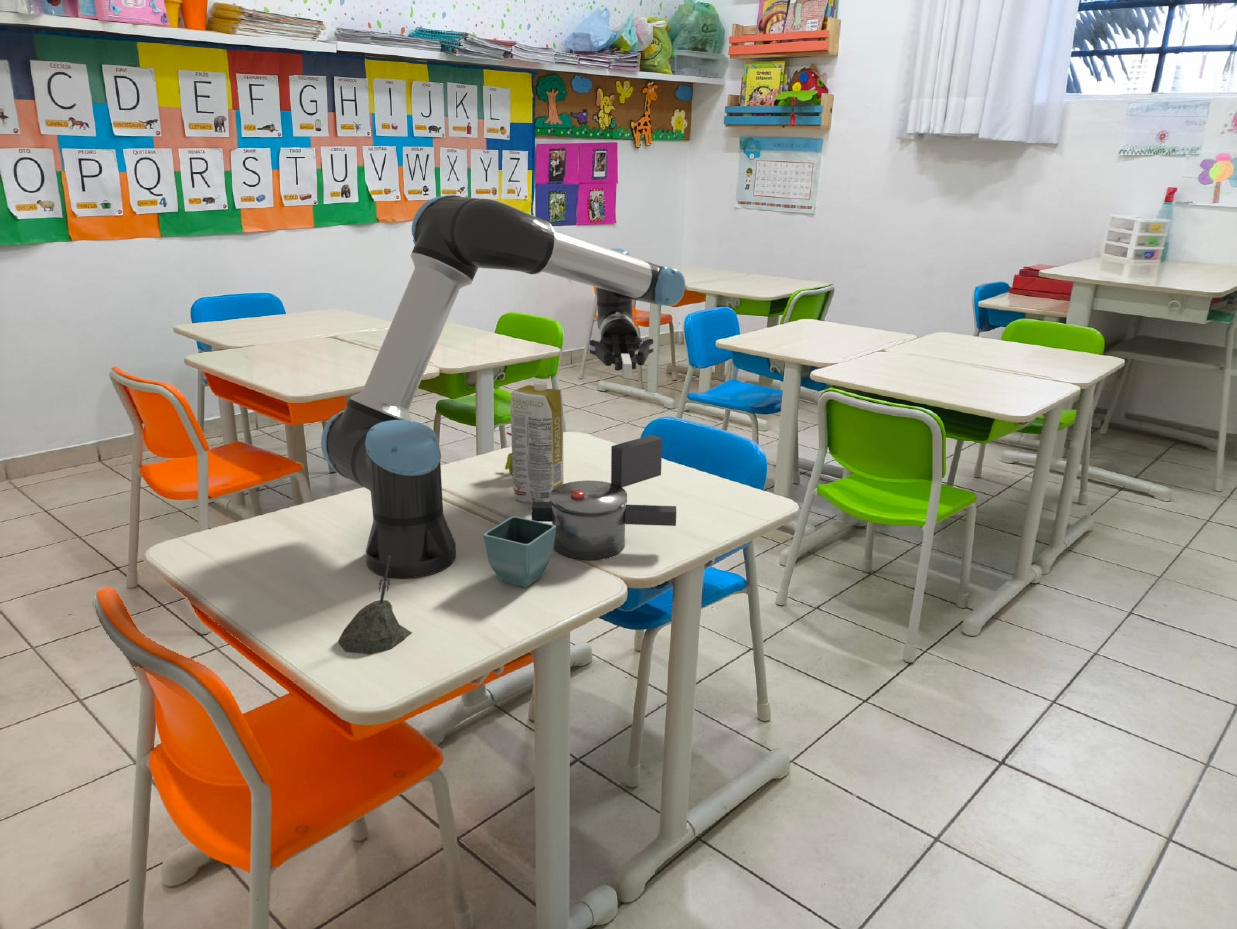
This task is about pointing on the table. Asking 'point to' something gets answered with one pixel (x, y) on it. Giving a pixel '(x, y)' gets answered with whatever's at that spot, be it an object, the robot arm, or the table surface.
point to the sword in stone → (374, 627)
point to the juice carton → (536, 442)
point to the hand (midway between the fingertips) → (627, 371)
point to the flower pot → (520, 549)
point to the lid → (612, 479)
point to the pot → (598, 528)
